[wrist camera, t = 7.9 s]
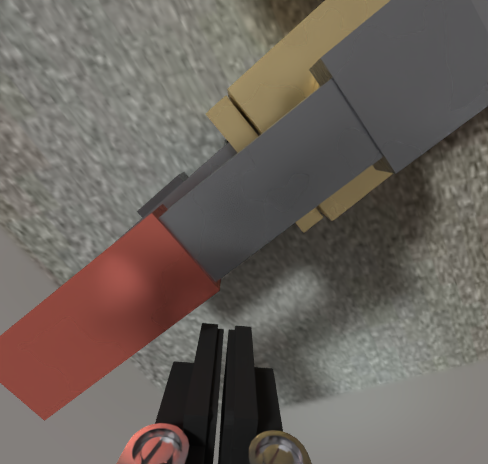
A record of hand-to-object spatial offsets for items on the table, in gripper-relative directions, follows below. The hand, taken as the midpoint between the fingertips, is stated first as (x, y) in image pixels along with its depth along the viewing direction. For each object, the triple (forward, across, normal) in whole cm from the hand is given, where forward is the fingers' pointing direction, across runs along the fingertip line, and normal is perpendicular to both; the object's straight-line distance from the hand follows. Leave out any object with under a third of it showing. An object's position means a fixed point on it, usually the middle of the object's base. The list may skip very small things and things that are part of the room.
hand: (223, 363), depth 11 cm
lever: (+1, 0, -5) cm, 5 cm away
